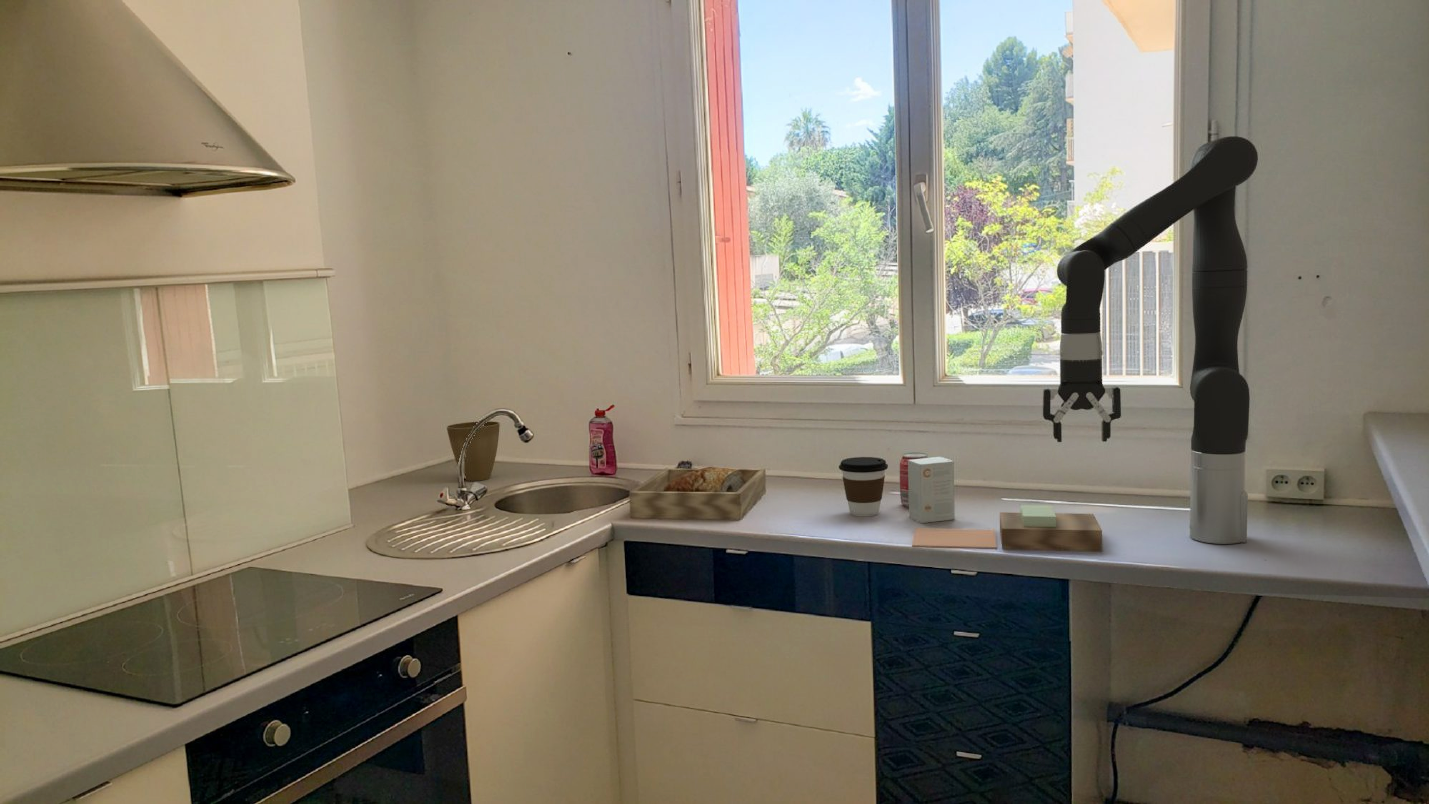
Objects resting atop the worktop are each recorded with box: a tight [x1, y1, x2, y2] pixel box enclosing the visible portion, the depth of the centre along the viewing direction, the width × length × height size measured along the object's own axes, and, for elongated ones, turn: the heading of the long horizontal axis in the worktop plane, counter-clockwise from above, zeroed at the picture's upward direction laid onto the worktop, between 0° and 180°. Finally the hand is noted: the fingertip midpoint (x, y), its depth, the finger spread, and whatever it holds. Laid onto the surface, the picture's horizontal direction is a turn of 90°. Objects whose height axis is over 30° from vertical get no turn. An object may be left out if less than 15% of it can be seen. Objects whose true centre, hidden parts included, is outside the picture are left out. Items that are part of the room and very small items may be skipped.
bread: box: [661, 466, 744, 492], centre depth 235 cm, size 20×18×10 cm
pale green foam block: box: [1020, 504, 1056, 527], centre depth 191 cm, size 6×9×2 cm, turn 165°
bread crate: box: [628, 468, 767, 521], centre depth 236 cm, size 26×28×6 cm
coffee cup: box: [838, 456, 889, 517], centre depth 220 cm, size 11×11×12 cm
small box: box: [908, 456, 956, 524], centre depth 212 cm, size 8×6×13 cm
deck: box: [999, 511, 1103, 552], centre depth 191 cm, size 18×13×4 cm
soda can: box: [899, 451, 929, 508], centre depth 224 cm, size 7×7×12 cm
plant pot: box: [446, 420, 501, 482], centre depth 281 cm, size 15×15×16 cm
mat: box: [911, 528, 997, 550], centre depth 196 cm, size 16×13×1 cm
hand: (1081, 441), depth 187 cm, fingers open, 7 cm apart
